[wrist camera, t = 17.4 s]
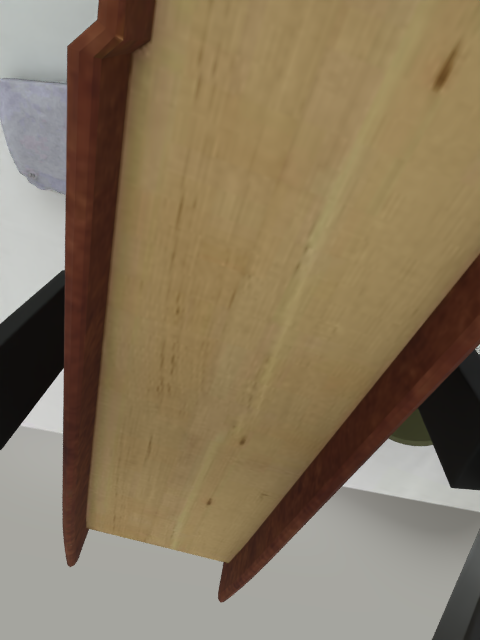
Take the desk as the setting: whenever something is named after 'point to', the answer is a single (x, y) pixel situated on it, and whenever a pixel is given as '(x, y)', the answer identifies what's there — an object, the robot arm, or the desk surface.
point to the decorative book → (259, 258)
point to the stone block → (36, 129)
